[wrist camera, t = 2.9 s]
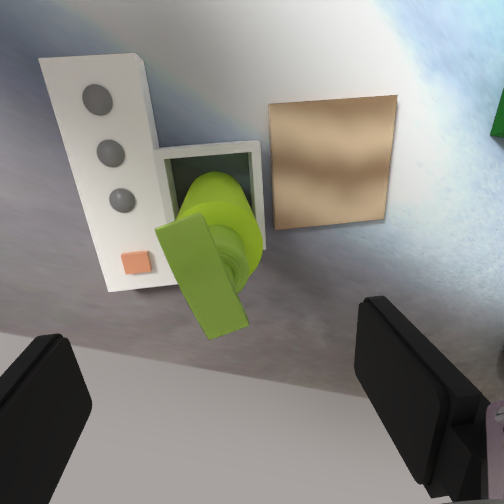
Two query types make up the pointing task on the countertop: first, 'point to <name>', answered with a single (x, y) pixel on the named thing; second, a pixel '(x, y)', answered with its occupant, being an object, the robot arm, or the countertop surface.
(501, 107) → the milk carton
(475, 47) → the countertop surface
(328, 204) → the oak board
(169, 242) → the soap dispenser
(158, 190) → the white holder tray
